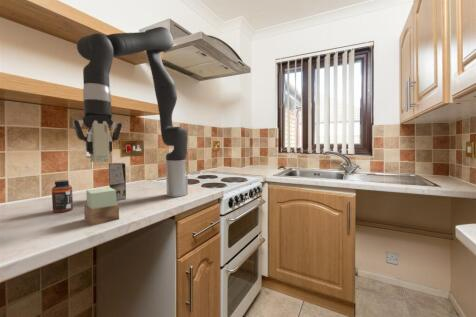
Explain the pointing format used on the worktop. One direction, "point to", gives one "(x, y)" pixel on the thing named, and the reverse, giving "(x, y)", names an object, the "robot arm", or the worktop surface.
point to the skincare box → (100, 143)
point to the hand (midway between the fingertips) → (99, 153)
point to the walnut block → (101, 214)
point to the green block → (101, 198)
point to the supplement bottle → (62, 196)
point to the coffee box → (118, 179)
